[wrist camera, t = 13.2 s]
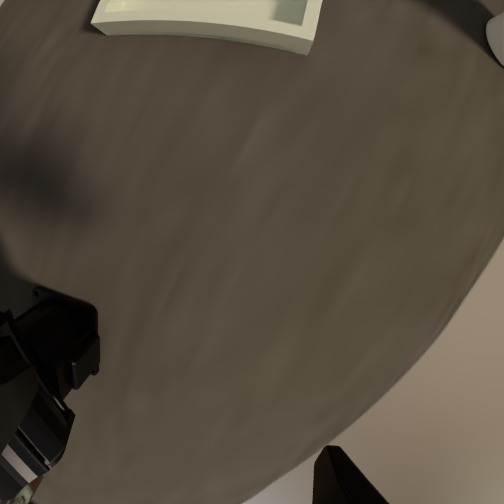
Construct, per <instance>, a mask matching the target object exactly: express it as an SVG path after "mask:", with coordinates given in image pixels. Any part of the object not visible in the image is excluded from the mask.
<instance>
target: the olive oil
mask: <svg viewBox="0 0 504 504" xmlns="http://www.w3.org/2000/svg"><path fill="white" fill-rule="evenodd" d="M42 479H43V475H40V476H38V477H37V478H35V479H34V480H32V481H31V482H30V483H28V484H27V485H26V486H25V487H24V488H23V489H22V490H21V491H20V492H19V493H18V494H17V495H16V496H15V497H14V498H13V499H11V500H6V501H0V504H29V503H30V501H31V499H32V497H33V495H34V493H35V491H36V490H37V488H38V486H39V484H40V482H41V481H42Z"/></svg>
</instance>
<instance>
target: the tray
mask: <svg viewBox="0 0 504 504" xmlns="http://www.w3.org/2000/svg"><path fill="white" fill-rule="evenodd" d="M321 4H322V0H100V2H99V4H98V7H97V9H96V11H95V14H94V16H93V19H92V21H91V24H92V25H93V26H95V27H96V28H98V29H99V30H100V31H102V32H103V33H104V34H105V35H107V36H108V35H174V36H190V37H201V38H211V39H220V40H228V41H235V42H242V43H248V44H254V45H260V46H265V47H270V48H275V49H280V50H285V51H289V52H294V53H298V54H302V55H306V56H308V54H309V51H310V49H311V46H312V43H313V40H314V36H315V31H316V27H317V22H318V18H319V13H320V8H321Z"/></svg>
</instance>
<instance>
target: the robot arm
mask: <svg viewBox="0 0 504 504" xmlns="http://www.w3.org/2000/svg"><path fill="white" fill-rule="evenodd" d="M37 292H38V293H37ZM32 297H33V307H32V308H30V309H29V310H27V311H26V312H25V313H23V314H22V315H20V316H19V317H17V318H16V319H13V314H12V312H11V310H10V309H9V310H7V311H5V312H3V313H2V311H0V501H6V500H11V499H13V498H14V497H15V496H16V495H17V494H18V493H19V492H20V491H21V490H22V489H23V488H24V487H25V486H26V485H27V484H28V483H30V482H31V481H32V480H34V479H35V478H37V477H38V476H40V475H42V474H44V473H46V472H48V471H49V470H50V469H51V468H52V467H53V466H54V465H56V464H57V463H58V461H59V460H60V459H61V457H62V456H63V454H64V451H65V448H66V445H67V441H68V438H69V434H70V431H71V428H72V425H73V421H74V418H75V414H74V413H73V411H72V410H71V409H69V408H68V406H67V405H66V404H65V402H64V401H63V400H64V398H65V397H66V396H67V395H68V393H69V392H70V391H71V390H72V388H73V389H75V390H77V389H79V388H80V387H81V385H82V384H83V383H84V381H85V380H86V379H87V378H88V376H89V375H90V374H91V375H96V374H97V373H98V372H99V362H100V337H99V335H98V313H97V310H96V309H95V308H94V307H92V306H90V305H87V304H84V303H81V302H78V301H75V300H72V299H70V298H67V297H64V296H61V295H59V294H56V293H53V292H51V291H48V290H46V289H43V288H40V287H36V288H34V289H33V290H32ZM89 311H90V312H91V313H92V315H91V314H90V312H89ZM312 504H389V503H388V502H387V500H386V499H385V498H384V497H383V496H382V495H381V494H380V493H379V491H378V490H377V489H376V488H375V487H374V486H373V485H372V483H370V481H369V480H368V479H367V478H366V477H365V475H364V474H363V473H362V472H361V471H360V470H359V469H358V467H357V466H356V465H355V464H354V463H353V461H352V460H351V459H350V458H349V457H348V455H347V454H346V453H345V452H344V451H343V450H342V448H341V447H339V446H333V445H327V446H325V447H324V448H323V450H322V452H321V453H320V455H319V456H318V458H317V460H316V461H315V465H314V481H313V502H312Z"/></svg>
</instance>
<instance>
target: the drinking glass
mask: <svg viewBox="0 0 504 504" xmlns="http://www.w3.org/2000/svg"><path fill="white" fill-rule="evenodd" d="M486 37H487V40H488V43H489V46H490V48H491V50H492V52H493V53H494V55H495V57H496V58H497V59H498V61H499V62H500V63H501V64H502V65H503V66H504V11H503V12H502V13H500V14H498V15H496V16H495V17H493V18H491V19H490V20H489V21H488V23H487V25H486Z"/></svg>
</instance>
